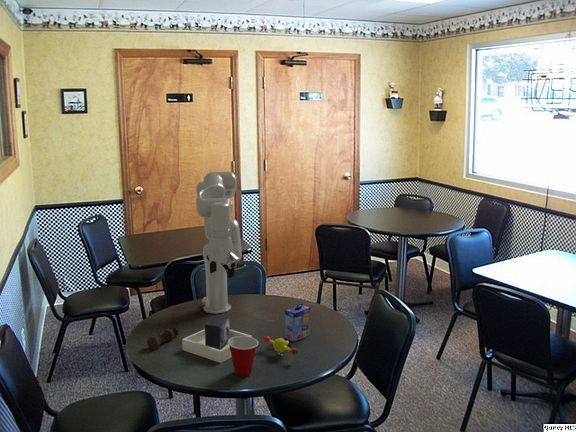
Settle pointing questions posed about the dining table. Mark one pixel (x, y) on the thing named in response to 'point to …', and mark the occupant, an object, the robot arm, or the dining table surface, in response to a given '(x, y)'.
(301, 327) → the ink cartridge box
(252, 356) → the plastic cup
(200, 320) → the dining table surface
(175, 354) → the dining table surface
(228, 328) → the small box
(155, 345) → the bolt
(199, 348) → the tray
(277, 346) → the toy figure
